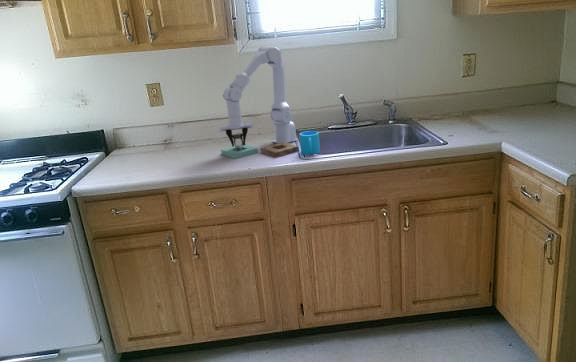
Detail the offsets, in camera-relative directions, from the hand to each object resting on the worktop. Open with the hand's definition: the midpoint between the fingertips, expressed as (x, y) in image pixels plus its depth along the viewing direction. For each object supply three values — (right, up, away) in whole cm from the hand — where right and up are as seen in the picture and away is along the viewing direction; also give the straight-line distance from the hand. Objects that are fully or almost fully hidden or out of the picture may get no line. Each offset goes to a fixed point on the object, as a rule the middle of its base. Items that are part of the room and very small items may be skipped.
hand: (238, 145), depth 201 cm
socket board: (0, -3, +1) cm, 4 cm away
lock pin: (+1, -3, +1) cm, 3 cm away
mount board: (+18, -3, -2) cm, 19 cm away
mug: (+32, -4, -9) cm, 33 cm away
